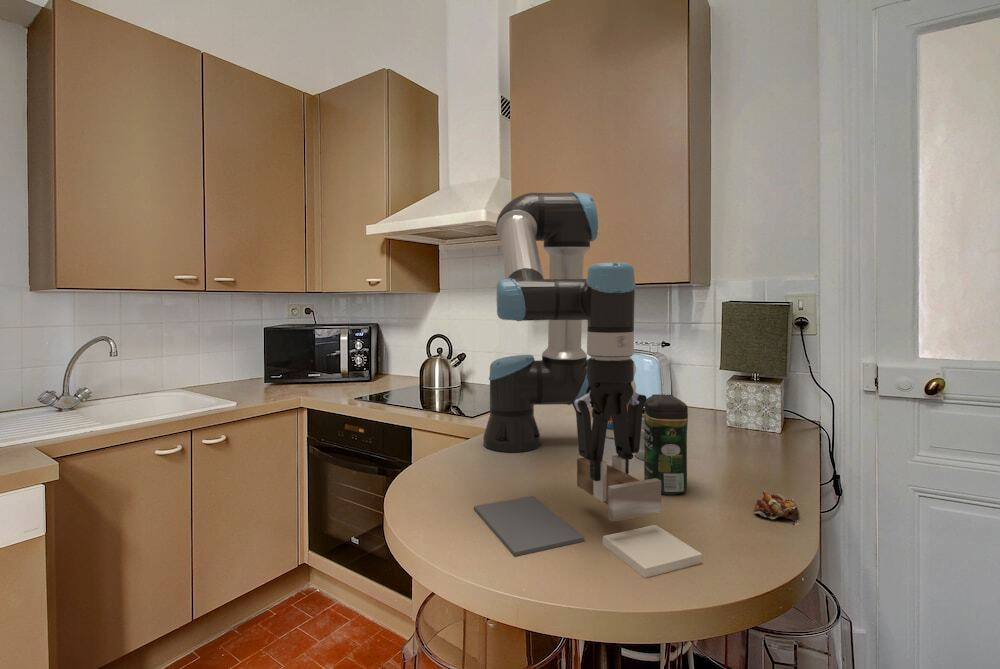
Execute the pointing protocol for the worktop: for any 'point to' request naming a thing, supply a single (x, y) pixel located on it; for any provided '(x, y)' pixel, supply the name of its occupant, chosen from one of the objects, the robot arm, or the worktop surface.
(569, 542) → the mat
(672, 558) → the tile
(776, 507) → the pastry
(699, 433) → the worktop surface
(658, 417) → the coffee jar
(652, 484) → the scraper
